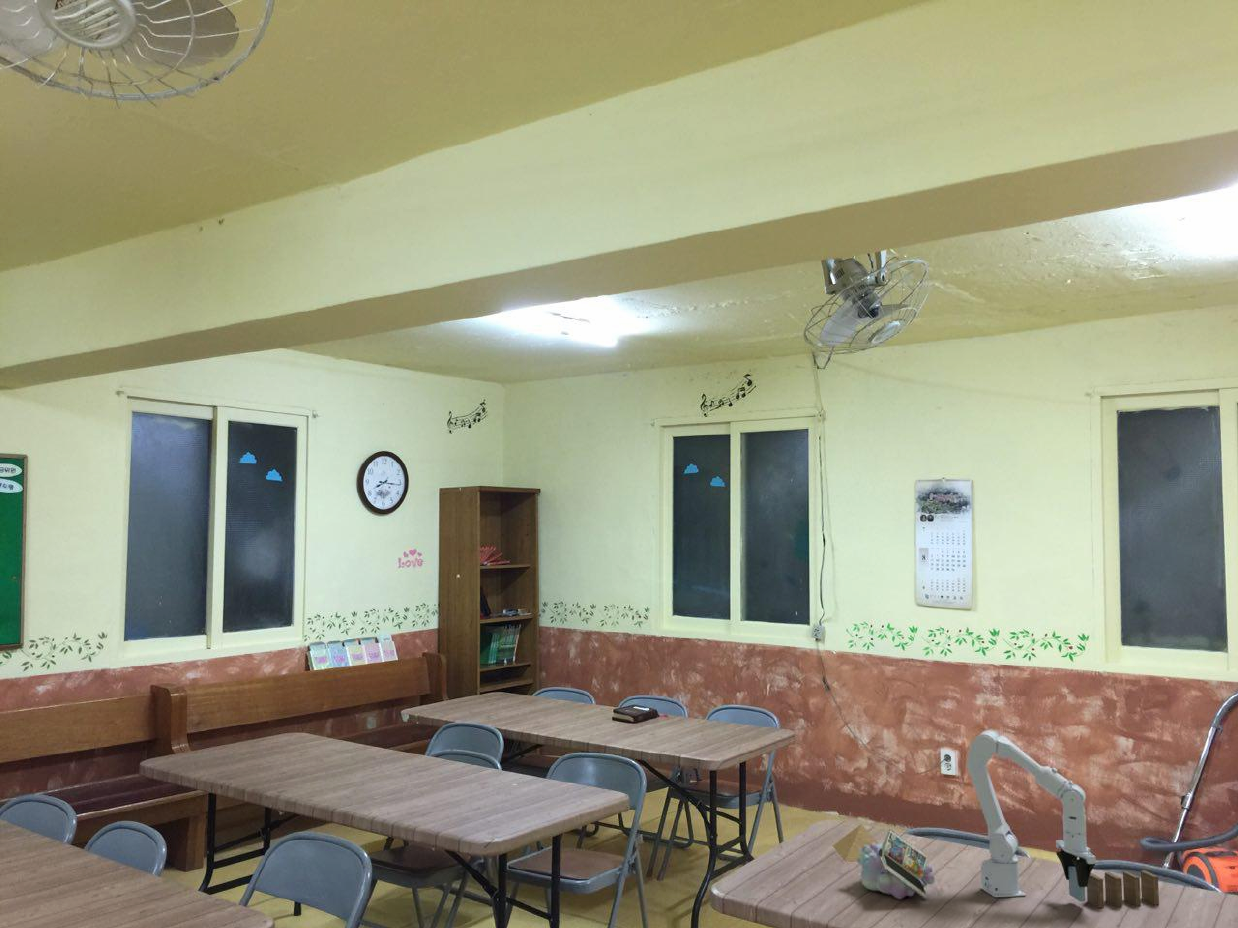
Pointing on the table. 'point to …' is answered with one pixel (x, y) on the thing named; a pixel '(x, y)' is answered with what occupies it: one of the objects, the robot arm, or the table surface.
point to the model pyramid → (853, 844)
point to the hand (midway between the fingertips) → (1076, 882)
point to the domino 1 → (1075, 885)
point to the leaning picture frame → (895, 867)
